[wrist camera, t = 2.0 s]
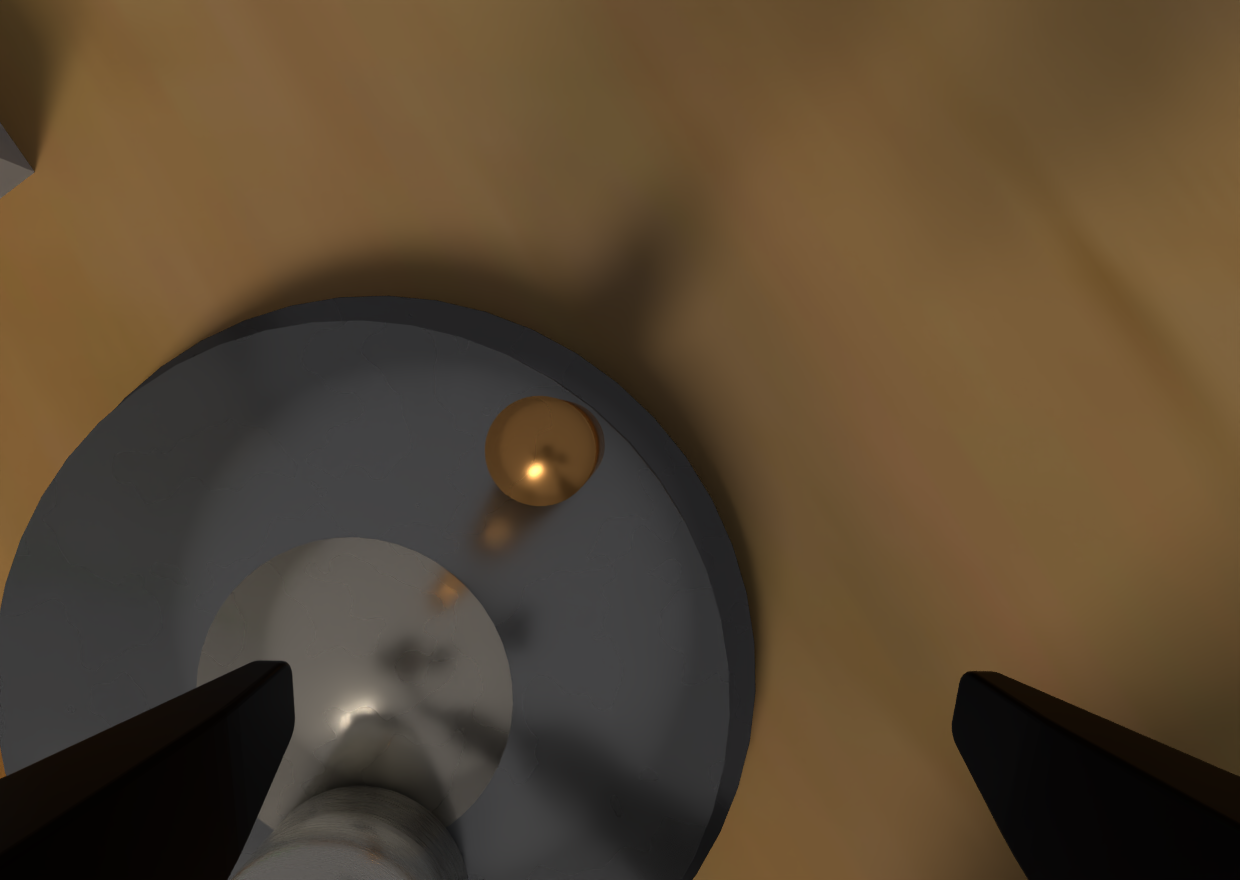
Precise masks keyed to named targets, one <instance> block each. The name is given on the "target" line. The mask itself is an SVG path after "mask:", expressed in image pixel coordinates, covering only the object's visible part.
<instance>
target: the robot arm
mask: <svg viewBox="0 0 1240 880" xmlns="http://www.w3.org/2000/svg"><path fill="white" fill-rule="evenodd" d="M294 726H295V707H294V691H293V676H292V669H291V667H290V665H289V664H288V663H287V662H286V661H272V660H257V661H253V662H250V663H248V664H246V665H244V666H242V667H239V668H237V669H235V670H233V671H231V672H229V673H227V674H224V675H222V676H220V677H218V678H216V679H214V680H212V681H209V682H207V683H205V684H203V685H201V686H199V687H196V688H194V689H192V690H190V691H188V692H186V693H184V694H181V695H179V696H177V697H175V698H173V699H171V700H169V701H166V702H164V703H162V704H160V705H158V706H156V707H154V708H151V709H149V710H147V711H145V712H143V713H141V714H139V715H136V716H134V717H132V718H130V719H128V720H126V721H123V722H121V723H119V724H117V725H115V726H113V727H111V728H108V729H106V730H104V731H102V732H100V733H98V734H96V735H93V736H91V737H89V738H87V739H85V740H83V741H81V742H78V743H76V744H74V745H72V746H70V747H68V748H65V749H63V750H61V751H59V752H57V753H55V754H53V755H50V756H48V757H46V758H44V759H42V760H40V761H38V762H35V763H33V764H31V765H29V766H27V767H25V768H23V769H20V770H18V771H16V772H14V773H12V774H10V775H8V776H5V777H3V778H1V779H0V880H228V878H229V876H230V874H231V872H232V871H233V869H234V867H235V865H236V863H237V861H238V859H239V857H240V855H241V853H242V851H243V848H244V846H245V844H246V842H247V840H248V838H249V835H250V833H251V831H252V828H253V826H254V824H255V821H256V819H257V817H258V814H259V812H260V810H261V808H262V805H263V803H264V801H265V798H266V796H267V794H268V791H269V789H270V787H271V784H272V782H273V780H274V777H275V775H276V773H277V770H278V768H279V766H280V763H281V761H282V759H283V756H284V754H285V752H286V749H287V747H288V745H289V742H290V740H291V737H292V734H293V731H294ZM952 733H953V738H954V741H955V743H956V746H957V748H958V750H959V752H960V754H961V756H962V758H963V759H964V761H965V763H966V765H967V767H968V769H969V771H970V773H971V775H972V777H973V779H974V781H975V783H976V785H977V787H978V789H979V791H980V793H981V794H982V796H983V798H984V800H985V802H986V804H987V806H988V808H989V810H990V812H991V814H992V816H993V818H994V820H995V822H996V824H997V826H998V828H999V829H1000V831H1001V833H1002V835H1003V837H1004V839H1005V841H1006V843H1007V844H1008V846H1009V848H1010V850H1011V852H1012V854H1013V855H1014V857H1015V859H1016V860H1017V862H1018V864H1019V865H1020V867H1021V869H1022V870H1023V872H1024V874H1025V875H1026V877H1027V878H1028V880H1240V777H1239V776H1237V775H1234V774H1232V773H1230V772H1227V771H1225V770H1223V769H1221V768H1218V767H1216V766H1214V765H1211V764H1209V763H1207V762H1204V761H1202V760H1200V759H1197V758H1195V757H1193V756H1190V755H1188V754H1186V753H1183V752H1181V751H1179V750H1176V749H1174V748H1172V747H1169V746H1167V745H1165V744H1163V743H1160V742H1158V741H1156V740H1153V739H1151V738H1149V737H1146V736H1144V735H1142V734H1139V733H1137V732H1135V731H1132V730H1130V729H1128V728H1125V727H1123V726H1121V725H1118V724H1116V723H1114V722H1111V721H1109V720H1107V719H1105V718H1102V717H1100V716H1098V715H1095V714H1093V713H1091V712H1088V711H1086V710H1084V709H1081V708H1079V707H1077V706H1074V705H1072V704H1070V703H1067V702H1065V701H1063V700H1060V699H1058V698H1056V697H1053V696H1051V695H1049V694H1046V693H1044V692H1042V691H1040V690H1037V689H1035V688H1033V687H1030V686H1028V685H1026V684H1023V683H1021V682H1019V681H1016V680H1014V679H1012V678H1009V677H1007V676H1005V675H1002V674H1000V673H997V672H992V671H969V672H967V673H965V674H964V675H963V676H962V677H961V679H960V683H959V688H958V693H957V698H956V704H955V709H954V714H953V720H952Z"/></svg>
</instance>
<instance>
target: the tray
mask: <svg viewBox="0 0 1240 880" xmlns="http://www.w3.org/2000/svg"><path fill="white" fill-rule="evenodd" d="M33 173H34V170H33V169H32V167H31V166H30V165H29V163H28V162H27V160H26V159H25V157H24V156H23V155H22V153H21V152H20V150H19V149H18V147H17V146H16V145H15V143H14V142H13V140H12V139H11V137H10V136H9V135H8V133H7V132H6V130H5V129H4V127H3V126H2V125H1V123H0V198H1V197H3V196H4V195H5V194H7V193H8V192H9V191H11V190H12V189H13V188H15V187H16V186H17V185H19V184H20V183H21V182H22V181H24V180H25V179H26V178H28V177H29V176H30V175H32V174H33Z"/></svg>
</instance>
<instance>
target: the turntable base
mask: <svg viewBox="0 0 1240 880" xmlns="http://www.w3.org/2000/svg"><path fill="white" fill-rule="evenodd" d="M360 320H363V321H373V322H383V323H393V324H403V325H412V326H417V327H421V328H425V329H429V330H434V331H438V332H442V333H446V334H450V335H455V336H459V337H462V338H465V339H467V340H470V341H472V342H475V343H478V344H480V345H483V346H486V347H488V348H491V349H493V350H496V351H499V352H501V353H504V354H507V355H509V356H511V357H513V358H515V359H517V360H519V361H521V362H523V363H524V364H526V365H528V366H530V367H532V368H534V369H536V370H537V371H539V372H541V373H543V374H545V375H547V376H549V377H550V378H552V379H554V380H556V381H558V382H559V383H560V384H562V385H563V386H565V387H566V388H567V389H569V390H570V391H572V392H573V393H574V394H576V395H577V396H578V397H580V398H581V399H583V400H584V401H585V402H587V403H588V404H589V405H591V406H592V407H594V408H595V409H596V410H597V411H598V412H599V413H600V414H601V415H602V416H603V417H605V418H606V419H607V420H608V421H609V422H610V423H611V424H612V425H613V426H614V427H615V428H616V429H617V430H618V431H619V432H620V433H621V434H623V435H624V436H625V437H626V438H627V439H628V440H629V441H630V442H631V444H632V445H633V446H634V447H635V449H636V450H637V451H638V452H639V454H640V455H641V456H642V457H643V458H644V460H645V461H646V462H647V463H648V465H649V466H650V467H651V468H652V470H653V471H654V472H655V473H656V474H657V476H658V477H659V479H660V480H661V482H662V483H663V485H664V487H665V488H666V490H667V492H668V493H669V495H670V496H671V498H672V500H673V501H674V503H675V505H676V506H677V508H678V509H679V511H680V513H681V514H682V516H683V518H684V520H685V522H686V525H687V527H688V529H689V531H690V534H691V536H692V538H693V540H694V543H695V545H696V547H697V549H698V551H699V554H700V556H701V558H702V561H703V563H704V565H705V568H706V570H707V573H708V577H709V580H710V584H711V587H712V590H713V594H714V597H715V600H716V604H717V607H718V610H719V614H720V617H721V623H722V629H723V636H724V642H725V648H726V655H727V661H728V668H729V711H730V717H729V726H728V736H727V745H726V754H725V763H724V768H723V772H722V776H721V780H720V784H719V788H718V792H717V796H716V800H715V804H714V808H713V812H712V815H711V817H710V820H709V822H708V825H707V827H706V830H705V832H704V835H703V837H702V840H701V842H700V845H699V847H698V850H697V852H696V855H695V857H694V859H693V861H692V863H691V864H690V866H689V868H688V870H687V871H686V873H685V875H684V877H683V878H682V880H692V879H693V878H694V877H695V875H696V874H697V872H698V870H699V869H700V867H701V865H702V863H703V862H704V860H705V858H706V856H707V855H708V853H709V851H710V849H711V848H712V846H713V844H714V842H715V840H716V839H717V837H718V835H719V833H720V831H721V829H722V826H723V824H724V821H725V819H726V816H727V814H728V811H729V809H730V806H731V804H732V801H733V799H734V796H735V794H736V791H737V789H738V785H739V781H740V777H741V773H742V769H743V765H744V761H745V758H746V754H747V750H748V746H749V742H750V734H751V725H752V716H753V707H754V698H755V657H754V638H753V632H752V625H751V619H750V612H749V606H748V600H747V593H746V590H745V586H744V583H743V580H742V576H741V573H740V569H739V566H738V563H737V559H736V556H735V553H734V549H733V546H732V543H731V541H730V539H729V537H728V534H727V532H726V530H725V528H724V525H723V523H722V521H721V519H720V517H719V514H718V512H717V510H716V508H715V505H714V503H713V501H712V499H711V497H710V496H709V494H708V492H707V491H706V489H705V487H704V486H703V484H702V483H701V481H700V479H699V478H698V476H697V474H696V473H695V471H694V470H693V468H692V466H691V465H690V463H689V461H688V460H687V458H686V457H685V455H684V454H683V453H682V452H681V450H680V449H679V448H678V447H677V445H676V444H675V443H674V442H673V441H672V439H671V438H670V437H669V436H668V434H667V433H666V432H665V431H664V429H663V428H662V427H661V426H660V425H659V423H658V422H657V421H656V420H655V418H654V417H653V416H652V415H651V414H650V413H648V412H647V411H646V410H645V409H644V408H643V407H642V406H641V405H640V404H639V403H638V402H637V401H636V400H635V399H634V398H633V397H632V396H630V395H629V394H628V393H627V392H626V391H625V390H624V389H623V388H622V387H621V386H620V385H619V384H618V383H617V382H615V381H614V380H612V379H611V378H610V377H608V376H607V375H606V374H604V373H603V372H601V371H600V370H599V369H597V368H596V367H594V366H593V365H592V364H590V363H589V362H588V361H586V360H585V359H583V358H582V357H581V356H579V355H578V354H576V353H575V352H573V351H571V350H569V349H567V348H565V347H563V346H562V345H560V344H558V343H556V342H554V341H552V340H551V339H549V338H547V337H545V336H543V335H541V334H539V333H538V332H536V331H534V330H532V329H529V328H527V327H524V326H521V325H519V324H516V323H513V322H511V321H508V320H505V319H503V318H500V317H498V316H495V315H492V314H490V313H487V312H484V311H479V310H475V309H471V308H467V307H462V306H458V305H454V304H449V303H445V302H441V301H436V300H426V299H416V298H405V297H395V296H369V297H342V298H334V299H328V300H322V301H316V302H311V303H305V304H299V305H293V306H289V307H286V308H283V309H279V310H276V311H273V312H270V313H267V314H264V315H260V316H257V317H254V318H251V319H248V320H245V321H242V322H240V323H238V324H236V325H234V326H232V327H230V328H228V329H225V330H223V331H221V332H219V333H217V334H215V335H213V336H211V337H209V338H206V339H204V340H202V341H200V342H199V343H197V344H196V345H194V346H193V347H191V348H190V349H188V350H186V351H185V352H183V353H182V354H180V355H179V356H177V357H176V358H174V359H173V360H171V361H169V362H168V363H166V364H165V365H163V366H162V367H160V368H159V369H158V370H157V371H156V372H155V373H153V374H152V375H151V376H150V377H149V378H148V379H146V380H145V381H144V382H143V383H142V384H141V385H139V386H138V387H137V388H136V389H135V390H134V391H132V392H131V393H130V394H129V395H128V396H127V397H125V398H124V400H123V401H122V402H124V401H125V400H126V399H127V398H128V397H129V396H131V395H132V394H133V393H134V392H135V391H137V390H138V389H140V388H141V387H143V386H144V385H146V384H148V383H149V382H151V381H152V380H154V379H155V378H157V377H158V376H160V375H161V374H163V373H164V372H166V371H168V370H169V369H171V368H172V367H174V366H175V365H177V364H179V363H182V362H184V361H186V360H188V359H190V358H192V357H194V356H196V355H199V354H201V353H203V352H205V351H207V350H209V349H211V348H213V347H216V346H218V345H220V344H223V343H227V342H230V341H233V340H236V339H239V338H243V337H246V336H249V335H252V334H255V333H258V332H262V331H265V330H270V329H276V328H282V327H288V326H294V325H299V324H305V323H311V322H332V321H360ZM122 402H121V403H122ZM121 403H120V404H121ZM120 404H119V405H120ZM119 405H118V406H119ZM118 406H117V407H118ZM117 407H116V408H117Z"/></svg>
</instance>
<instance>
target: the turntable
mask: <svg viewBox="0 0 1240 880" xmlns="http://www.w3.org/2000/svg"><path fill="white" fill-rule="evenodd" d="M257 660H272V661H286V662H287V663H288V664H289V665H290V667H291V669H292V676H293V691H294V707H295V726H294V731H293V734H292V737H291V740H290V742H289V745H288V747H287V749H286V752H285V754H284V756H283V759H282V761H281V763H280V766H279V768H278V770H277V773H276V775H275V777H274V780H273V782H272V784H271V787H270V789H269V791H268V794H267V796H266V798H265V801H264V803H263V805H262V808H261V810H260V812H259V814H258V817H257V819H256V821H255V824H254V826H253V828H252V831H251V833H250V835H249V838H248V840H247V842H246V844H245V846H244V848H243V851H242V853H241V855H240V857H239V859H238V861H237V863H236V865H235V867H234V869H233V871H232V872H231V874H230V876H229V878H228V880H231V879H232V877H233V876H234V875H235V874H236V873H237V872H238V871H239V870H240V868H241V867H242V866H243V865H244V864H245V863H246V862H247V860H248V859H249V858H250V857H251V856H252V855H253V854H254V852H255V851H256V850H257V849H258V848H259V847H260V846H261V844H262V843H263V842H264V841H265V840H266V839H267V838H268V837H269V835H270V834H271V833H272V832H273V831H274V830H275V829H276V827H277V826H278V825H279V824H280V823H281V822H282V821H283V820H284V819H285V817H286V816H287V815H288V814H289V813H290V812H291V811H293V810H294V809H295V808H296V807H298V806H299V805H300V804H301V803H303V802H305V801H306V800H308V799H310V798H311V797H313V796H315V795H318V794H320V793H322V792H325V791H328V790H332V789H336V788H340V787H347V786H371V787H379V788H383V789H387V790H391V791H394V792H397V793H399V794H402V795H404V796H406V797H408V798H410V799H412V800H414V801H416V802H417V803H419V804H420V805H422V806H423V807H424V808H426V809H427V810H429V811H430V812H431V813H432V814H433V815H434V816H435V817H436V818H437V819H438V820H439V821H440V822H441V823H442V824H443V825H444V827H445V828H446V829H447V830H448V832H449V833H450V835H451V836H452V838H453V840H454V841H455V843H456V845H457V847H458V849H459V851H460V853H461V855H462V859H463V862H464V865H465V868H466V873H467V879H468V880H682V878H683V877H684V875H685V873H686V871H687V870H688V868H689V866H690V864H691V863H692V861H693V859H694V857H695V855H696V852H697V850H698V847H699V845H700V842H701V840H702V837H703V835H704V832H705V830H706V827H707V825H708V822H709V820H710V817H711V815H712V812H713V808H714V804H715V800H716V796H717V792H718V788H719V784H720V780H721V776H722V772H723V768H724V763H725V754H726V745H727V736H728V726H729V717H730V711H729V668H728V661H727V655H726V648H725V642H724V636H723V629H722V623H721V617H720V614H719V610H718V607H717V604H716V600H715V597H714V594H713V590H712V587H711V584H710V580H709V577H708V573H707V570H706V568H705V565H704V563H703V561H702V558H701V556H700V554H699V551H698V549H697V547H696V545H695V543H694V540H693V538H692V536H691V534H690V531H689V529H688V527H687V525H686V522H685V520H684V518H683V516H682V514H681V513H680V511H679V509H678V508H677V506H676V505H675V503H674V501H673V500H672V498H671V496H670V495H669V493H668V492H667V490H666V488H665V487H664V485H663V483H662V482H661V480H660V479H659V477H658V476H657V474H656V473H655V472H654V471H653V470H652V468H651V467H650V466H649V465H648V463H647V462H646V461H645V460H644V458H643V457H642V456H641V455H640V454H639V452H638V451H637V450H636V449H635V447H634V446H633V445H632V444H631V442H630V441H629V440H628V439H627V438H626V437H625V436H624V435H623V434H621V433H620V432H619V431H618V430H617V429H616V428H615V427H614V426H613V425H612V424H611V423H610V422H609V421H608V420H607V419H606V418H605V417H603V416H602V415H601V414H600V413H599V412H598V411H597V410H596V409H595V408H594V407H592V406H591V405H589V404H588V403H587V402H585V401H584V400H583V399H581V398H580V397H578V396H577V395H576V394H574V393H573V392H572V391H570V390H569V389H567V388H566V387H565V386H563V385H562V384H560V383H559V382H558V381H556V380H554V379H552V378H550V377H549V376H547V375H545V374H543V373H541V372H539V371H537V370H536V369H534V368H532V367H530V366H528V365H526V364H524V363H523V362H521V361H519V360H517V359H515V358H513V357H511V356H509V355H507V354H504V353H501V352H499V351H496V350H493V349H491V348H488V347H486V346H483V345H480V344H478V343H475V342H472V341H470V340H467V339H465V338H462V337H459V336H455V335H450V334H446V333H442V332H438V331H434V330H429V329H425V328H421V327H417V326H412V325H403V324H393V323H383V322H373V321H363V320H360V321H332V322H311V323H305V324H299V325H294V326H288V327H282V328H276V329H270V330H265V331H262V332H258V333H255V334H252V335H249V336H246V337H243V338H239V339H236V340H233V341H230V342H227V343H223V344H220V345H218V346H216V347H213V348H211V349H209V350H207V351H205V352H203V353H201V354H199V355H196V356H194V357H192V358H190V359H188V360H186V361H184V362H182V363H179V364H177V365H175V366H174V367H172V368H171V369H169V370H168V371H166V372H164V373H163V374H161V375H160V376H158V377H157V378H155V379H154V380H152V381H151V382H149V383H148V384H146V385H144V386H143V387H141V388H140V389H138V390H137V391H135V392H134V393H133V394H132V395H131V396H129V397H128V398H127V399H126V400H125V401H124V402H122V403H121V404H120V405H119V406H118V407H117V408H115V409H114V410H113V411H112V412H111V413H110V414H108V415H107V416H106V417H105V418H104V419H103V420H102V421H100V422H99V423H98V424H97V426H96V427H95V428H94V429H93V430H92V431H91V432H90V433H89V435H88V436H87V437H86V438H85V439H84V440H83V441H82V442H81V444H80V445H79V446H78V447H77V448H76V449H75V450H74V452H73V453H72V454H71V455H70V456H69V457H68V458H67V460H66V461H65V463H64V464H63V466H62V467H61V469H60V470H59V472H58V473H57V475H56V476H55V478H54V479H53V481H52V482H51V484H50V485H49V487H48V488H47V490H46V491H45V493H44V494H43V496H42V497H41V499H40V501H39V503H38V505H37V507H36V509H35V511H34V513H33V515H32V517H31V519H30V521H29V523H28V526H27V528H26V530H25V532H24V534H23V536H22V538H21V540H20V543H19V546H18V549H17V552H16V555H15V558H14V561H13V563H12V566H11V569H10V572H9V575H8V578H7V581H6V584H5V589H4V594H3V599H2V604H1V609H0V747H1V753H2V758H3V763H4V768H5V773H6V776H8V775H10V774H12V773H14V772H16V771H18V770H20V769H23V768H25V767H27V766H29V765H31V764H33V763H35V762H38V761H40V760H42V759H44V758H46V757H48V756H50V755H53V754H55V753H57V752H59V751H61V750H63V749H65V748H68V747H70V746H72V745H74V744H76V743H78V742H81V741H83V740H85V739H87V738H89V737H91V736H93V735H96V734H98V733H100V732H102V731H104V730H106V729H108V728H111V727H113V726H115V725H117V724H119V723H121V722H123V721H126V720H128V719H130V718H132V717H134V716H136V715H139V714H141V713H143V712H145V711H147V710H149V709H151V708H154V707H156V706H158V705H160V704H162V703H164V702H166V701H169V700H171V699H173V698H175V697H177V696H179V695H181V694H184V693H186V692H188V691H190V690H192V689H194V688H196V687H199V686H201V685H203V684H205V683H207V682H209V681H212V680H214V679H216V678H218V677H220V676H222V675H224V674H227V673H229V672H231V671H233V670H235V669H237V668H239V667H242V666H244V665H246V664H248V663H250V662H253V661H257Z"/></svg>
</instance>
